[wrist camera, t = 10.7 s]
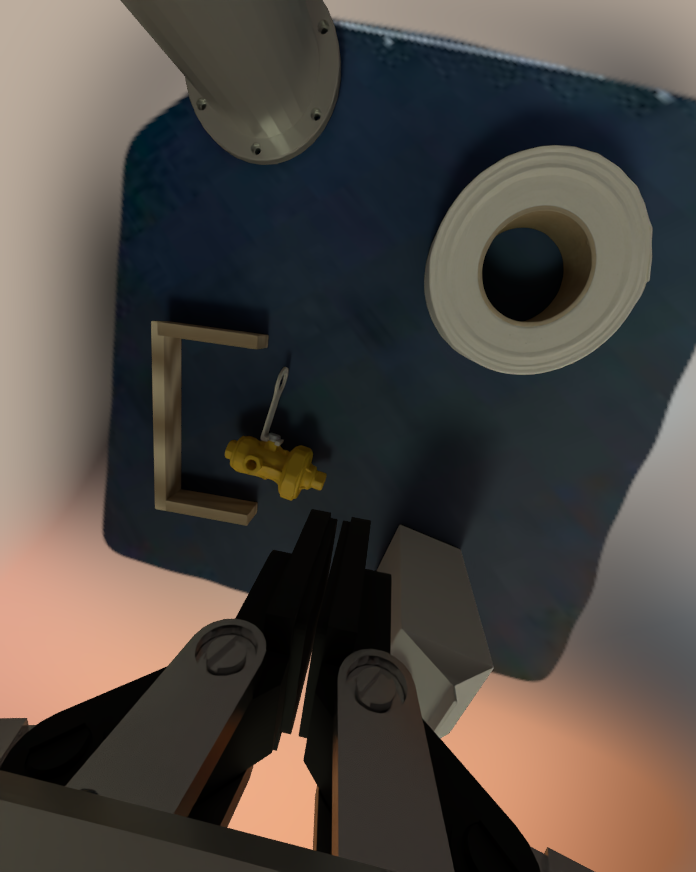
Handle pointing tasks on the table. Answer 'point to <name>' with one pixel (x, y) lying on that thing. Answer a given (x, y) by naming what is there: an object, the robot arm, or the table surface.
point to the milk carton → (435, 626)
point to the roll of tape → (577, 241)
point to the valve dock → (169, 421)
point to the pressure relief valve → (276, 456)
